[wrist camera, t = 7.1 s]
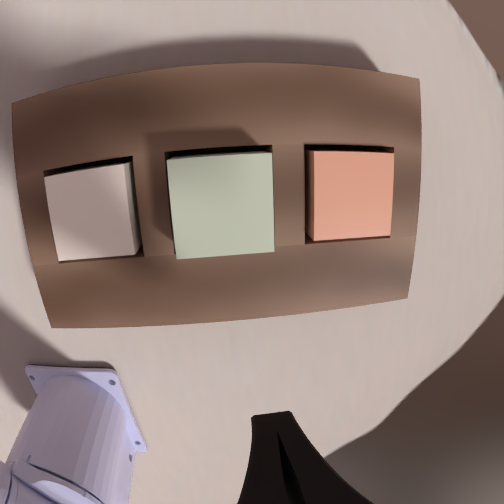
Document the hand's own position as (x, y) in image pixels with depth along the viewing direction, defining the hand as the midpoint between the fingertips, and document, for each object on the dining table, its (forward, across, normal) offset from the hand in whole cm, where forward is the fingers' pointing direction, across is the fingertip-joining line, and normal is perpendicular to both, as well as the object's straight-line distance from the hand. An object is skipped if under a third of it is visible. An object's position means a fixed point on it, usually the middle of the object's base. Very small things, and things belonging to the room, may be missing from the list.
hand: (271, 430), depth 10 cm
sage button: (+8, +1, -7) cm, 11 cm away
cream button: (+9, +7, -7) cm, 13 cm away
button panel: (+9, +1, -7) cm, 12 cm away
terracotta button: (+9, -5, -7) cm, 12 cm away
